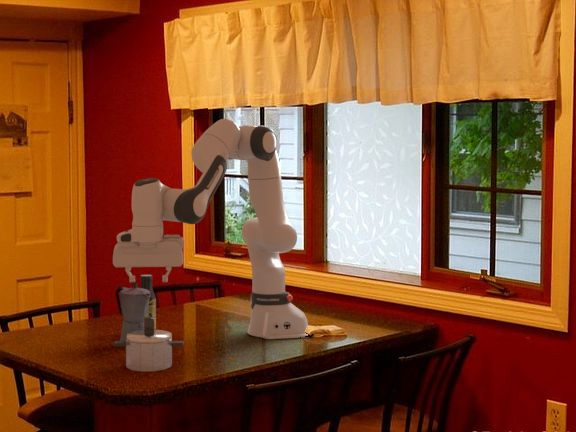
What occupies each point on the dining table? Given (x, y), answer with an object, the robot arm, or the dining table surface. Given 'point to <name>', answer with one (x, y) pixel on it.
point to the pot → (148, 355)
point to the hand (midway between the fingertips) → (148, 281)
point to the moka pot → (132, 308)
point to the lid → (149, 334)
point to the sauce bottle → (147, 284)
